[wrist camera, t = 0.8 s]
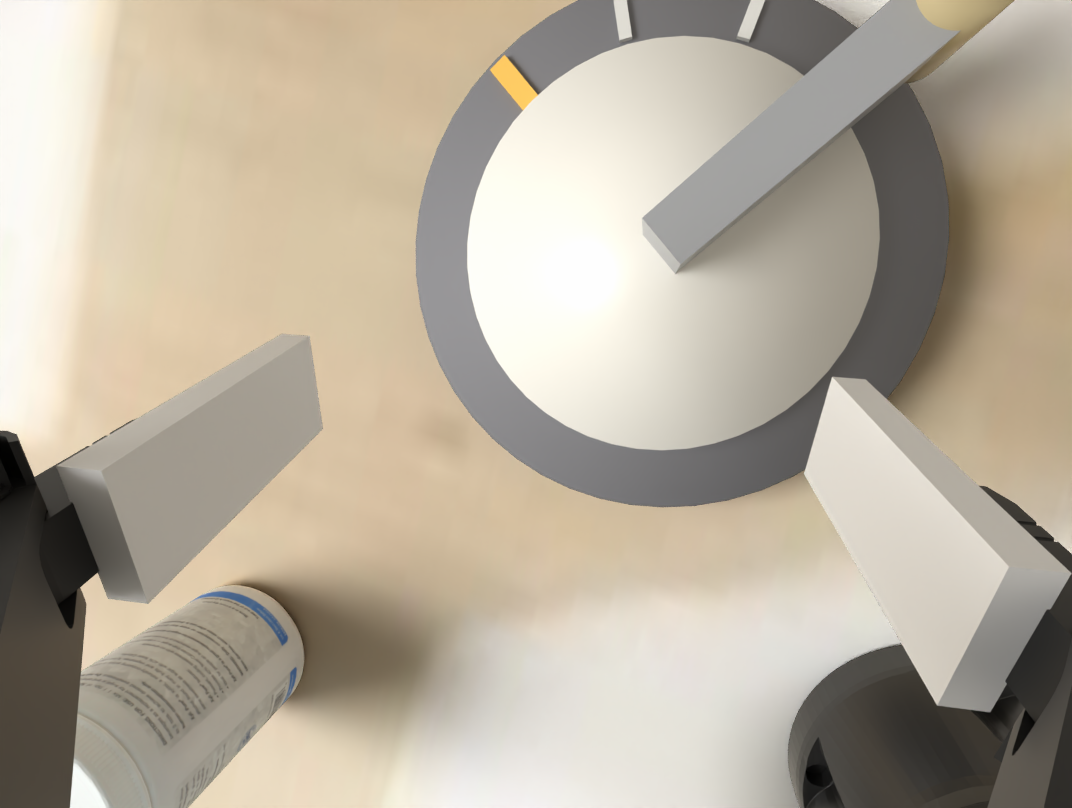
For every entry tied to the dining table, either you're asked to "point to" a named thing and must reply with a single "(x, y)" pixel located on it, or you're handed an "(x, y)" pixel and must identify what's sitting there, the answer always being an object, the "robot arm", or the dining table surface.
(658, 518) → the dining table surface
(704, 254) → the dial
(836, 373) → the dial base
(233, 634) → the supplement tub
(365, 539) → the dining table surface
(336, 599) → the dining table surface
